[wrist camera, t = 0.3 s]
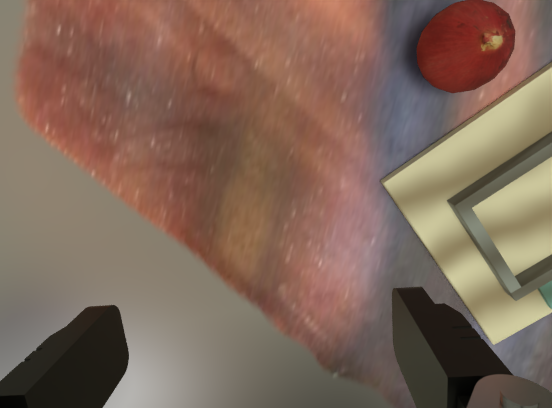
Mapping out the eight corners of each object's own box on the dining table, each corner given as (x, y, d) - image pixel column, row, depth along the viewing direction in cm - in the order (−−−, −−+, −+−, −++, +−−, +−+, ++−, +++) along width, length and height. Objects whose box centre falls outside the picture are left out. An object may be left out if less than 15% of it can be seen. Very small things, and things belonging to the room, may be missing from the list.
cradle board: (379, 180, 31) (388, 187, 29) (576, 44, 28) (604, 40, 26) (487, 338, 36) (503, 355, 33) (667, 236, 32) (698, 247, 30)
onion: (460, -3, 27) (533, -43, 19) (488, 67, 28) (566, 57, 21) (390, 40, 28) (433, 18, 20) (420, 106, 29) (471, 109, 22)
